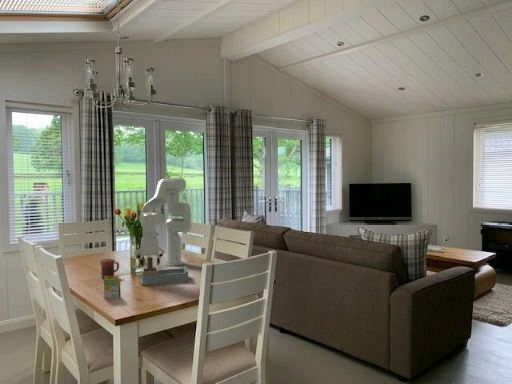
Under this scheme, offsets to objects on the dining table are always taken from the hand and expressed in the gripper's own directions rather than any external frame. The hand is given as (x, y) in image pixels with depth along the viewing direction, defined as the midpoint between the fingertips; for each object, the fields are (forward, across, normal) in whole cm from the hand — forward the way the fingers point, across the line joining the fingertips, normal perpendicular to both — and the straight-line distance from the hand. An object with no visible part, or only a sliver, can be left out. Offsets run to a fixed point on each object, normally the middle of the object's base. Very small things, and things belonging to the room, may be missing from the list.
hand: (150, 265), depth 229 cm
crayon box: (+10, +19, +25) cm, 33 cm away
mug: (+10, +23, -17) cm, 30 cm away
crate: (+8, 0, 0) cm, 8 cm away
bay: (+10, -8, 0) cm, 12 cm away
